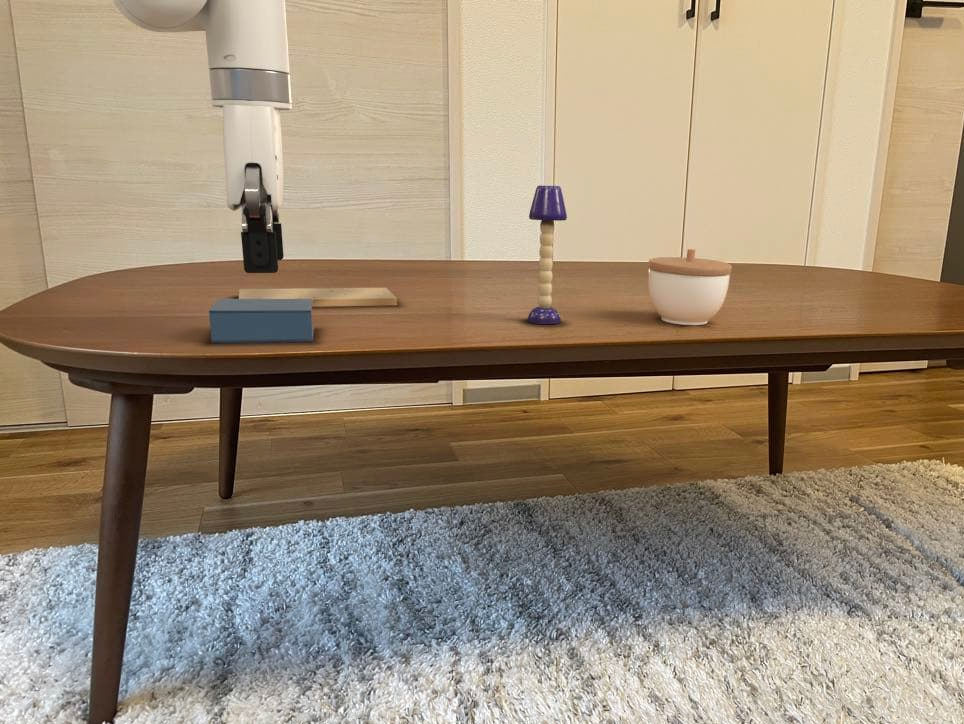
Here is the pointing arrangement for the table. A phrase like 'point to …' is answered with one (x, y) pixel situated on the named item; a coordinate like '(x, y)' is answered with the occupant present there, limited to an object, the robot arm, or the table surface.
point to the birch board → (327, 296)
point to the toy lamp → (546, 248)
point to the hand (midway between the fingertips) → (265, 265)
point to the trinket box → (687, 288)
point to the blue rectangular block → (261, 320)
